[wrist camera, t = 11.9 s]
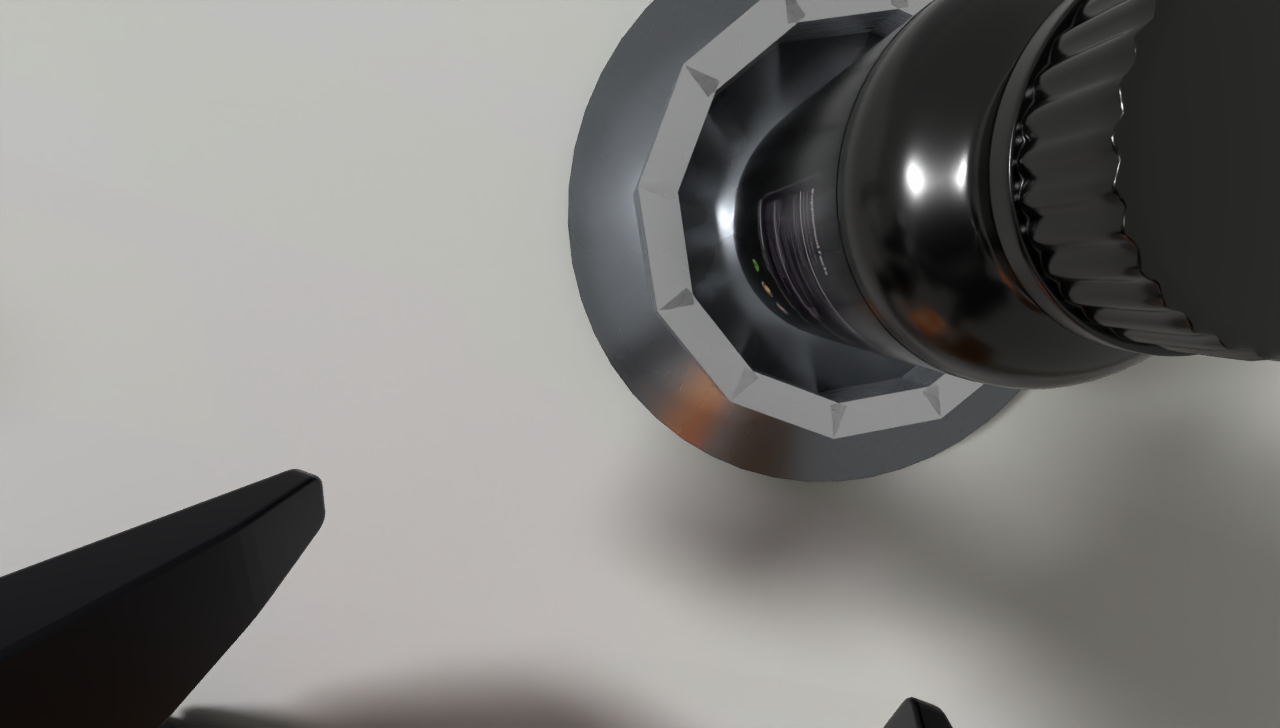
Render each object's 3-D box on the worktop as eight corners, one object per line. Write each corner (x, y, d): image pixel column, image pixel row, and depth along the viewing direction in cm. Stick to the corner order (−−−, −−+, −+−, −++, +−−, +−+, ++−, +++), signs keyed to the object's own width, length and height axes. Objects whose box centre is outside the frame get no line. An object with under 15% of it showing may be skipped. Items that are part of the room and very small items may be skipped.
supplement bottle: (877, 49, 17) (1541, -441, 5) (988, 253, 18) (1726, 220, 7) (677, 188, 17) (898, 7, 5) (801, 382, 18) (1203, 583, 7)
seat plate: (945, 532, 21) (1018, 584, 17) (493, 375, 18) (474, 400, 15) (1153, 73, 19) (1279, 30, 16) (685, -164, 17) (712, -277, 13)
